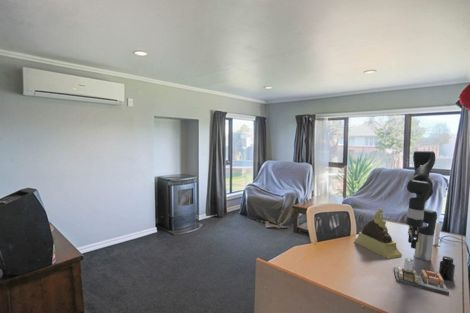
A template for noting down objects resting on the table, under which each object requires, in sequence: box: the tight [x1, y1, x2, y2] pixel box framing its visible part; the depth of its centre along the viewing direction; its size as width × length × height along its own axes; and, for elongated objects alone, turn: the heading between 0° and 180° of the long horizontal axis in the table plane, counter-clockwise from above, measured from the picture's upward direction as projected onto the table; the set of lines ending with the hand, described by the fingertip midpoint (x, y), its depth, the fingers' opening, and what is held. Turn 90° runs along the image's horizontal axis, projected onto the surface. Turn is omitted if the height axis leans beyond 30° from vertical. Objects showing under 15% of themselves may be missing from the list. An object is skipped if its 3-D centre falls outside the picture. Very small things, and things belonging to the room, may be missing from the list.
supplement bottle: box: [438, 255, 456, 282], centre depth 152 cm, size 7×7×12 cm
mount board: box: [393, 266, 450, 296], centre depth 147 cm, size 16×23×4 cm
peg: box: [403, 257, 414, 277], centre depth 147 cm, size 4×4×10 cm
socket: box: [420, 269, 445, 286], centre depth 146 cm, size 8×8×3 cm
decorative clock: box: [354, 208, 403, 260], centre depth 187 cm, size 28×13×30 cm, turn 22°
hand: (411, 245), depth 146 cm, fingers open, 8 cm apart
